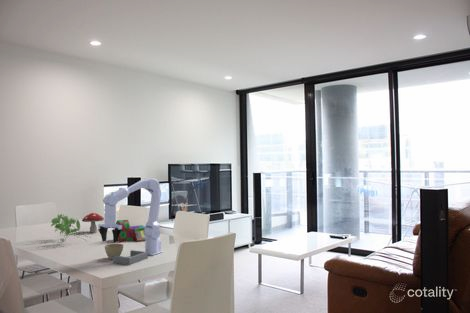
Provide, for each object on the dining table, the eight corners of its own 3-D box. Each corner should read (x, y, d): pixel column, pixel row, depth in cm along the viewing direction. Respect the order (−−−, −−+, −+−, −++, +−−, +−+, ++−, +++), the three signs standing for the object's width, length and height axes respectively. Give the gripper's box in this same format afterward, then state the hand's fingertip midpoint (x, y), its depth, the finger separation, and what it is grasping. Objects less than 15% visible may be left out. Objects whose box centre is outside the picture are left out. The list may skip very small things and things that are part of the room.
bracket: (131, 256, 211) (131, 250, 211) (147, 258, 206) (147, 252, 206) (112, 262, 197) (113, 255, 197) (129, 264, 192) (129, 258, 193)
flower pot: (115, 261, 200) (115, 247, 200) (100, 259, 203) (100, 246, 204) (127, 257, 209) (127, 244, 209) (112, 255, 213) (113, 242, 213)
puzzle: (123, 244, 245) (123, 222, 245) (115, 239, 259) (115, 219, 259) (158, 240, 259) (158, 219, 260) (149, 236, 273) (149, 216, 274)
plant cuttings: (66, 246, 266) (40, 230, 255) (81, 226, 274) (56, 209, 262) (84, 255, 240) (55, 237, 229) (100, 232, 247) (73, 214, 236)
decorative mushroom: (77, 233, 281) (77, 213, 281) (91, 230, 296) (91, 211, 296) (94, 234, 276) (95, 214, 276) (108, 231, 291) (108, 212, 292)
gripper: (94, 216, 200) (94, 241, 200) (115, 218, 195) (115, 244, 194) (103, 215, 207) (103, 239, 207) (124, 216, 201) (124, 241, 201)
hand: (109, 241), depth 201 cm, fingers open, 7 cm apart
